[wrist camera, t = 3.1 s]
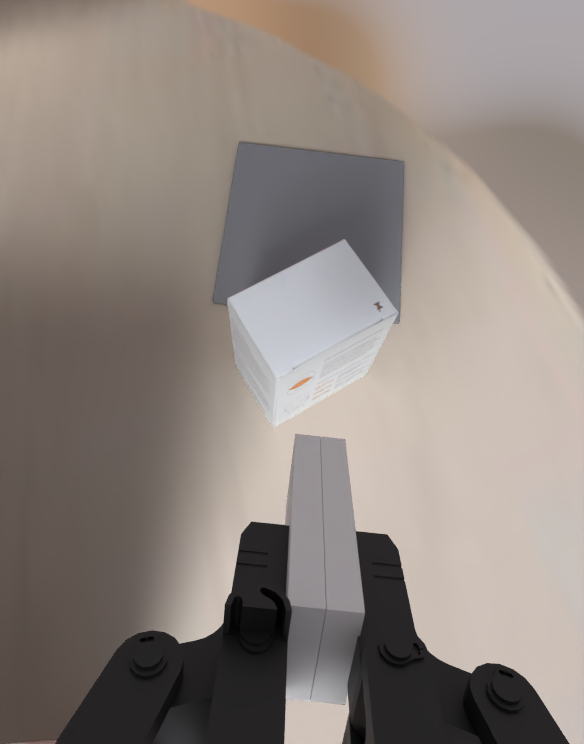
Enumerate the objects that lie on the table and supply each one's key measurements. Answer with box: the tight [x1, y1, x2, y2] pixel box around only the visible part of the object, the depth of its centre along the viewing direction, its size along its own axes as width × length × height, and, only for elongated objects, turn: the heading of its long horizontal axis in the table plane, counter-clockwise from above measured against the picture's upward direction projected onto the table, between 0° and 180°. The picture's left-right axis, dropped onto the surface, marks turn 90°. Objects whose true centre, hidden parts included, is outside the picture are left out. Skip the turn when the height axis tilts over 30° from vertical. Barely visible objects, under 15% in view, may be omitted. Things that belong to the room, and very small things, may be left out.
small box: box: [227, 239, 398, 428], centre depth 35 cm, size 8×6×10 cm
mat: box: [213, 142, 404, 324], centre depth 44 cm, size 14×15×1 cm
